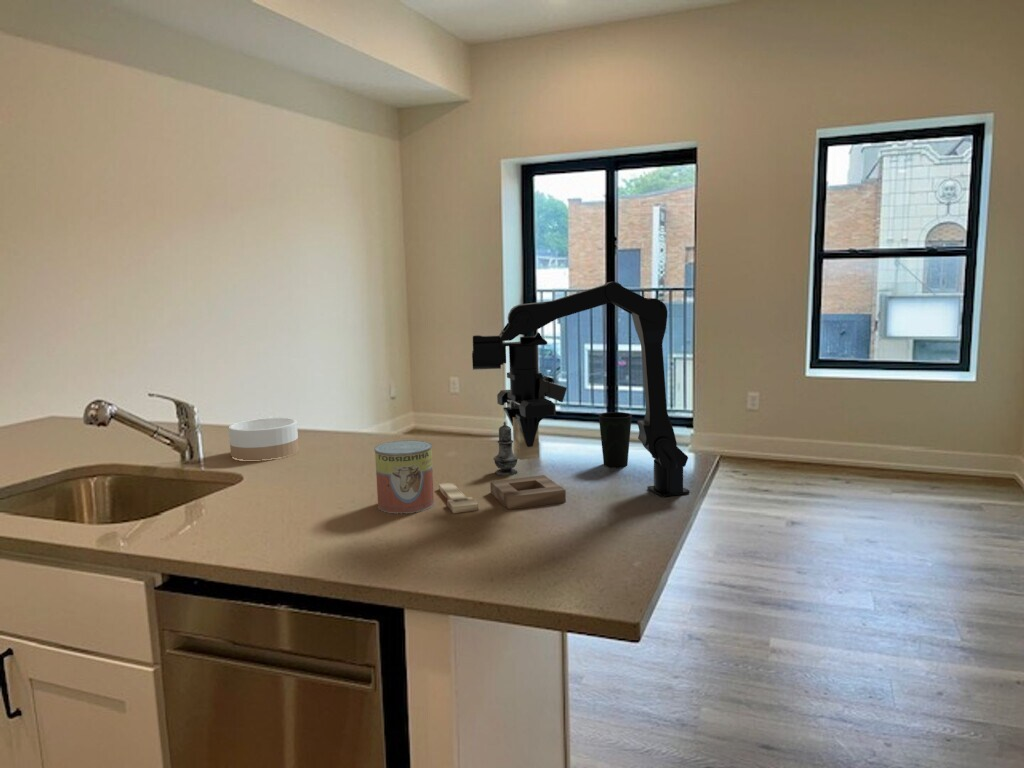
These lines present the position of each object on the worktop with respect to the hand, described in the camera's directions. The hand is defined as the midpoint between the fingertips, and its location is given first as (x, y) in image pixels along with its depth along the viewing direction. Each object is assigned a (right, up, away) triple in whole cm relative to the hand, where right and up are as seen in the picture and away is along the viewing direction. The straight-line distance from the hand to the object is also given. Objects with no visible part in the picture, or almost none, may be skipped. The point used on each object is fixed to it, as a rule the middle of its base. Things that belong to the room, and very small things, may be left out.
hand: (526, 444), depth 146 cm
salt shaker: (-4, -9, +21) cm, 23 cm away
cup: (+22, -7, +25) cm, 34 cm away
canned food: (-24, -12, -1) cm, 27 cm away
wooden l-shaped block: (-14, -11, +1) cm, 18 cm away
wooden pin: (0, -3, 0) cm, 2 cm away
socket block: (0, -11, +2) cm, 11 cm away
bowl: (-69, -7, +47) cm, 84 cm away
